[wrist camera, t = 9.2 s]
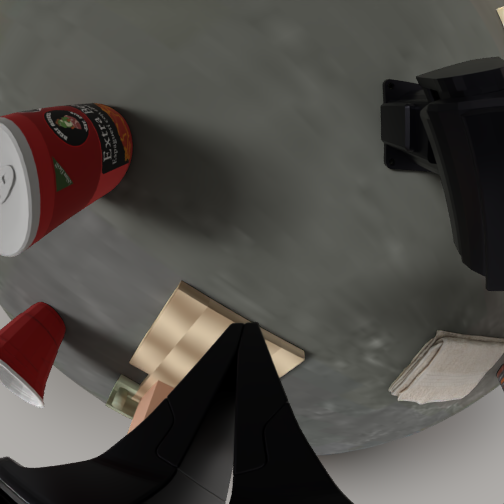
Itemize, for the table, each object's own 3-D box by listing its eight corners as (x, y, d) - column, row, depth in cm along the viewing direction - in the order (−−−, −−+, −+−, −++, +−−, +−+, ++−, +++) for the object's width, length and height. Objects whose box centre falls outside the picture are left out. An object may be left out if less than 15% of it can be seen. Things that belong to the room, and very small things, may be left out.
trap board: (181, 280, 24) (166, 311, 20) (304, 350, 27) (306, 383, 23) (114, 385, 34) (104, 406, 31) (194, 424, 37) (189, 445, 34)
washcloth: (432, 325, 25) (442, 344, 22) (506, 333, 26) (515, 347, 23) (382, 388, 31) (386, 406, 28) (462, 386, 31) (468, 399, 29)
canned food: (154, 150, 18) (53, 197, 9) (95, 212, 21) (10, 282, 11) (100, 82, 16) (-12, 87, 6) (50, 150, 19) (-45, 191, 9)
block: (158, 380, 30) (133, 449, 21) (200, 400, 31) (185, 469, 22) (140, 399, 33) (119, 456, 24) (176, 417, 34) (161, 474, 26)
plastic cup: (58, 351, 33) (23, 408, 22) (15, 296, 28) (-31, 349, 18) (96, 344, 30) (55, 417, 19) (44, 276, 25) (-16, 343, 15)
